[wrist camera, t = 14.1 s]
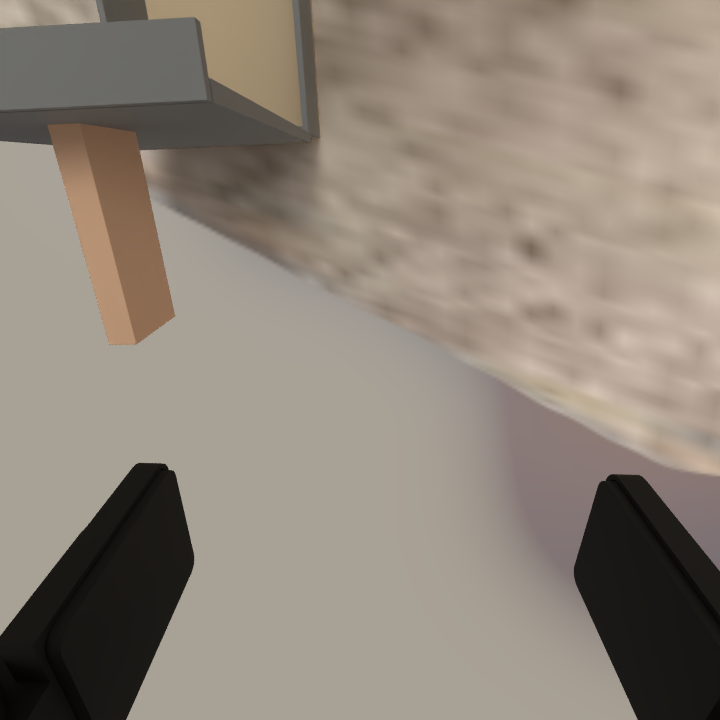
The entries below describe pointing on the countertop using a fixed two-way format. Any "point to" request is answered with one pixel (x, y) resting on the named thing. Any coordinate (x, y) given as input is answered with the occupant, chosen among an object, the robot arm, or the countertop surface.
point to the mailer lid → (122, 139)
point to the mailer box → (247, 48)
